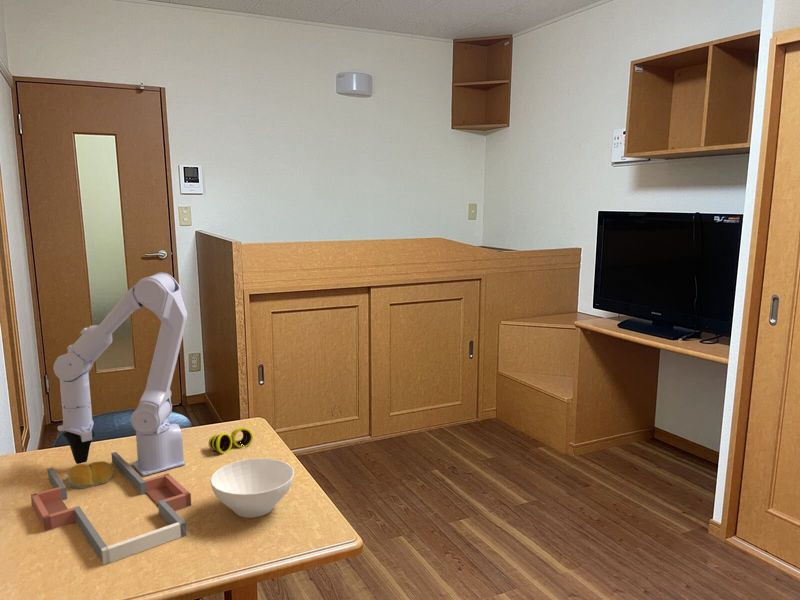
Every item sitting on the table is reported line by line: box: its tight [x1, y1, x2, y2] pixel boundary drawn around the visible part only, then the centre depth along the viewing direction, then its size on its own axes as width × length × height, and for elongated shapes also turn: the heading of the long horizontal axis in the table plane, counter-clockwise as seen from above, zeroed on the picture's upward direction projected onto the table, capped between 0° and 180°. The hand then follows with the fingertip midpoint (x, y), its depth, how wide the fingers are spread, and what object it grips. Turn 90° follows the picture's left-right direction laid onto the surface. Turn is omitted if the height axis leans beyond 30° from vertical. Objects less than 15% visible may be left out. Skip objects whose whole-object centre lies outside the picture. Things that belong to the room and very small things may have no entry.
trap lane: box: [30, 451, 192, 566], centre depth 119 cm, size 24×41×2 cm, turn 41°
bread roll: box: [66, 461, 115, 489], centre depth 130 cm, size 8×9×4 cm
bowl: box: [210, 457, 295, 519], centre depth 118 cm, size 16×16×7 cm
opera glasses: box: [208, 427, 254, 455], centre depth 147 cm, size 10×5×5 cm, turn 134°
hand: (81, 462), depth 136 cm, fingers closed
